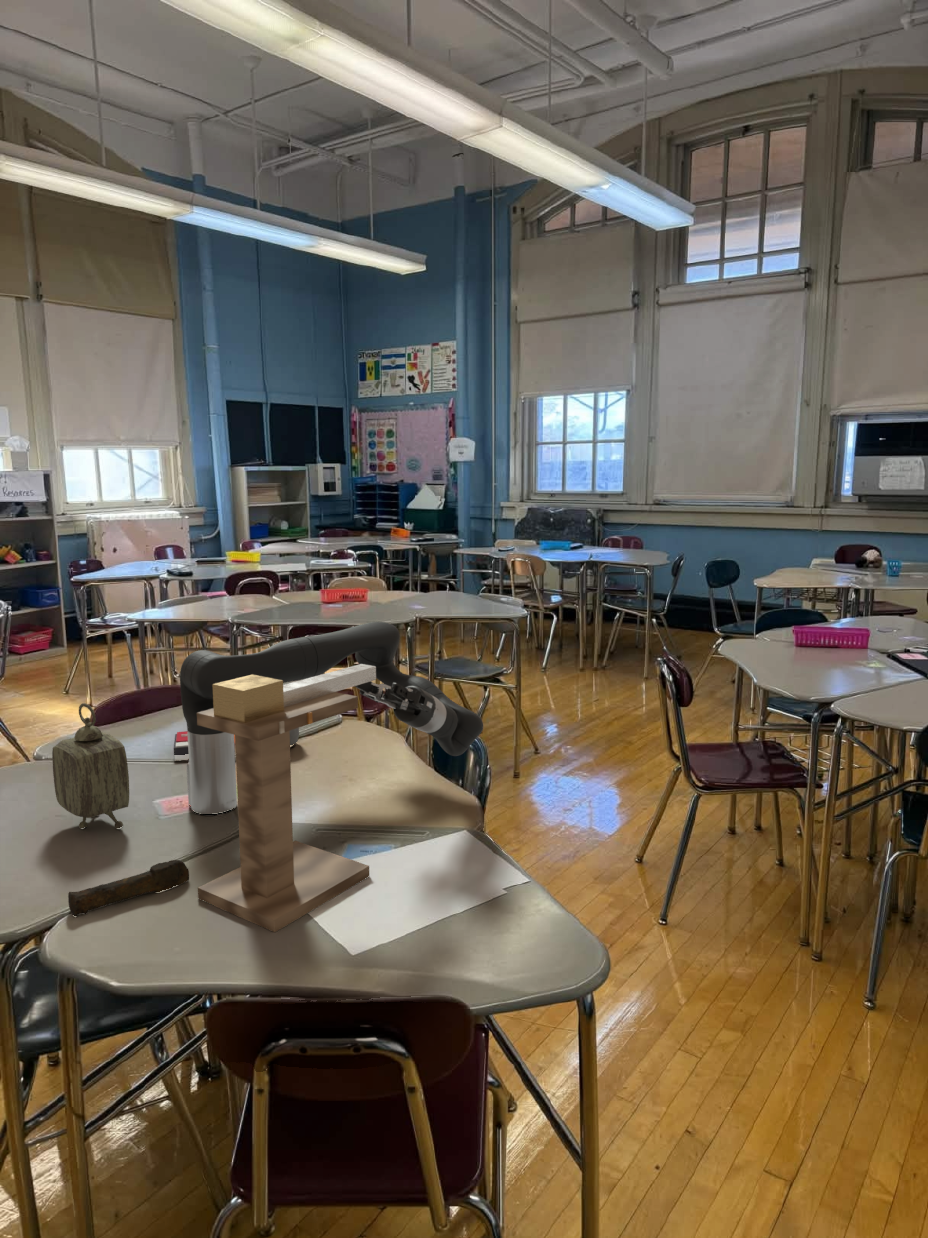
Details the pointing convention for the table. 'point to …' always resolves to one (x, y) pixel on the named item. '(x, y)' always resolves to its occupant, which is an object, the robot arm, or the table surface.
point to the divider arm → (280, 692)
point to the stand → (276, 824)
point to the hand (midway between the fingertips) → (374, 684)
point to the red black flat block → (181, 743)
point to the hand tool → (129, 887)
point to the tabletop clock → (91, 772)
